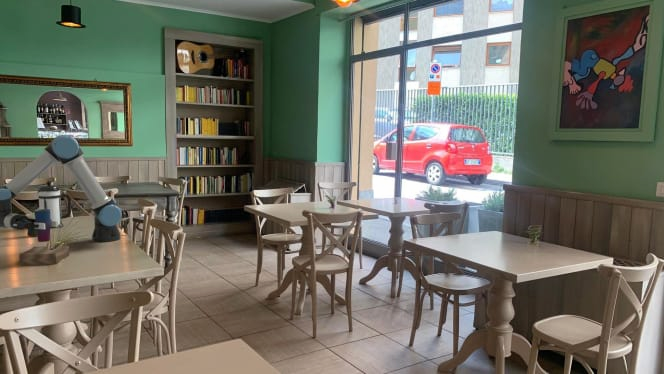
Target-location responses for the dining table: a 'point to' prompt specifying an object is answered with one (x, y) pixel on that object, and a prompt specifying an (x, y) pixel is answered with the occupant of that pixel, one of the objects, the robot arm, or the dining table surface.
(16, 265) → the dining table surface
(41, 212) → the cup
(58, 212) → the coffee press
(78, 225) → the dining table surface
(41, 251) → the walnut riser
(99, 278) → the dining table surface
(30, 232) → the character mug
